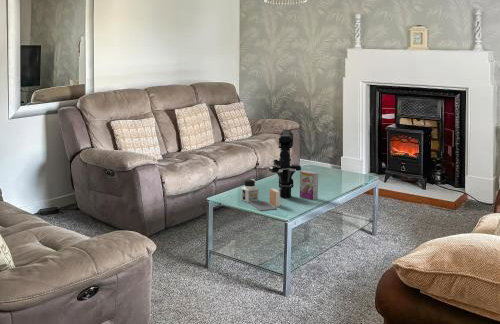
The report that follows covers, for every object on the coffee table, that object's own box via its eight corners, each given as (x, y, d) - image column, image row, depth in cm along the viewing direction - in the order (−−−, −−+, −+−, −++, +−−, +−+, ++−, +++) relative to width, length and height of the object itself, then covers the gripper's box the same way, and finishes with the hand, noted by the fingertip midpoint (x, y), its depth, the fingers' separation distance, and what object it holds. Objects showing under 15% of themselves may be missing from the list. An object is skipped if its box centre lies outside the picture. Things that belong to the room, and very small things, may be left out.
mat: (264, 201, 359) (264, 200, 358) (276, 209, 342) (276, 208, 342) (248, 203, 355) (248, 202, 355) (260, 210, 338) (260, 210, 338)
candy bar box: (299, 196, 369) (299, 171, 366) (304, 195, 373) (304, 170, 369) (312, 200, 361) (313, 174, 358) (317, 198, 365) (318, 173, 361)
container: (248, 202, 356) (248, 181, 353) (241, 199, 362) (241, 179, 360) (258, 200, 361) (258, 179, 358) (251, 197, 367) (251, 177, 364)
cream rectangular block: (274, 202, 355) (274, 188, 354) (279, 206, 348) (279, 191, 346) (269, 203, 354) (269, 188, 353) (275, 206, 347) (275, 192, 345)
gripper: (293, 153, 359) (293, 178, 362) (265, 155, 352) (265, 180, 355) (301, 156, 348) (301, 182, 351) (272, 158, 342) (272, 185, 345)
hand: (284, 182), depth 351 cm, fingers open, 4 cm apart
